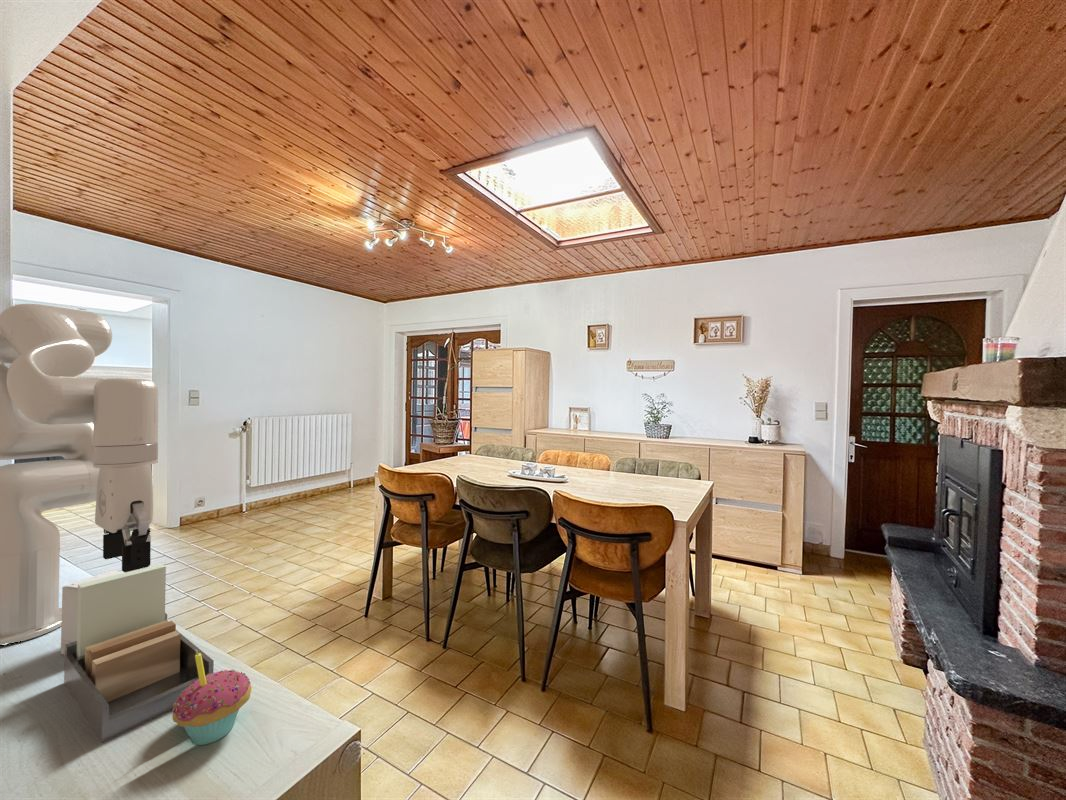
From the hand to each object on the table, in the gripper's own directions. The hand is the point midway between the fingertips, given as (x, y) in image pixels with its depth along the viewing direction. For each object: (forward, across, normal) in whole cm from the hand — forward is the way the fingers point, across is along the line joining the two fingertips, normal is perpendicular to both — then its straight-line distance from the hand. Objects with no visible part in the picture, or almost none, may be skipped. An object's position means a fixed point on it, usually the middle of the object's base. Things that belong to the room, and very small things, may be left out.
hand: (126, 562), depth 69 cm
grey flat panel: (+17, -1, 0) cm, 17 cm away
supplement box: (+18, -13, 0) cm, 22 cm away
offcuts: (+17, +5, 0) cm, 18 cm away
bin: (+18, +7, 0) cm, 20 cm away
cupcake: (+19, +24, +3) cm, 31 cm away
